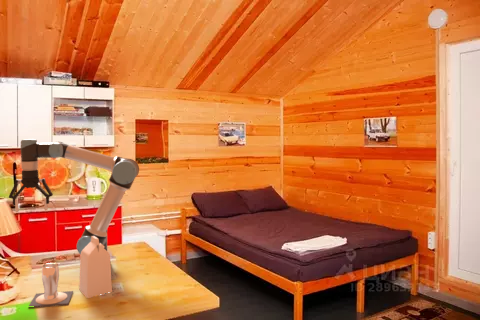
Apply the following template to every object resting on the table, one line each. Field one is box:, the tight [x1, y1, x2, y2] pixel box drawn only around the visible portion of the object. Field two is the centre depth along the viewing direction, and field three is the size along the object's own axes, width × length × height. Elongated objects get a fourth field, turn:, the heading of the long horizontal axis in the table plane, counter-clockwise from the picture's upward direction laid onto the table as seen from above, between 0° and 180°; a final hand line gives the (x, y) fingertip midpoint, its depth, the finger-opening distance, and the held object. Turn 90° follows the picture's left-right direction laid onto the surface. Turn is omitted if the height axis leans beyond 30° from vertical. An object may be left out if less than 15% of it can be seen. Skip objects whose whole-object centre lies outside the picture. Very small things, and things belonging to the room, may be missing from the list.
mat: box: [28, 290, 74, 308], centre depth 189 cm, size 16×14×1 cm
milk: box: [78, 236, 113, 299], centre depth 199 cm, size 12×12×26 cm
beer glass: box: [41, 262, 60, 301], centre depth 188 cm, size 7×7×15 cm
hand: (31, 210), depth 215 cm, fingers open, 13 cm apart
